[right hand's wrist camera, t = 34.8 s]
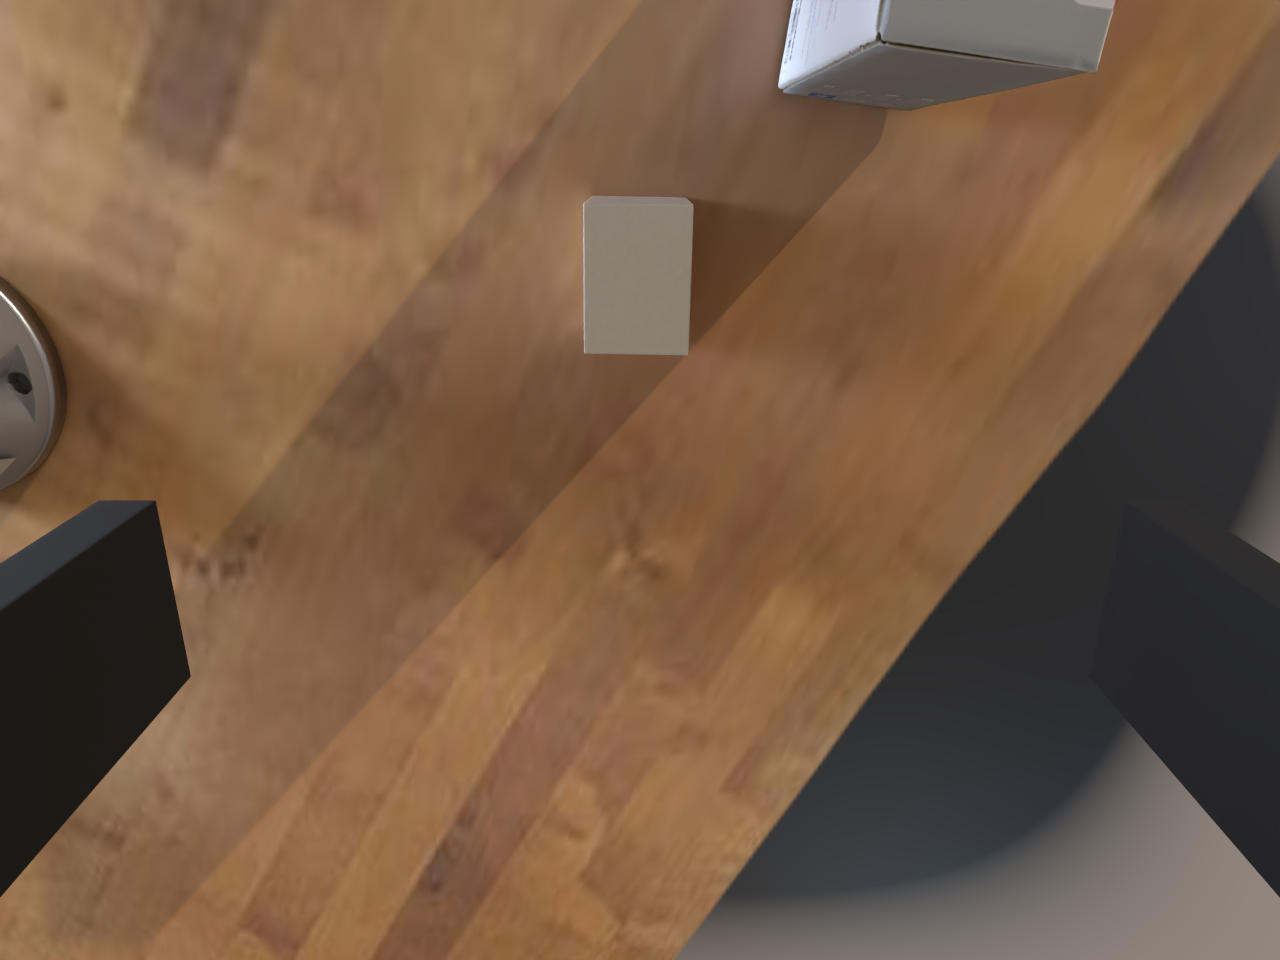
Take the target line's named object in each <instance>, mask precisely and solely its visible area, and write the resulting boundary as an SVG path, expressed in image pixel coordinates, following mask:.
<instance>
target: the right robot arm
mask: <svg viewBox="0 0 1280 960" xmlns="http://www.w3.org/2000/svg"><path fill="white" fill-rule="evenodd" d="M65 412H66V385H65V379H64V373H63V369H62V365H61V361H60V359H59V356H58V353H57V350H56V348H55V346H54V343H53V341H52V339H51V337H50V335H49V333H48V332H47V330H46V328H45V326H44V324H43V323H42V321H41V320H40V319H39V317H38V316H37V314H36V313H35V311H34V310H33V309H32V308H31V306H30V305H29V304H28V303H27V301H26V300H25V299H24V298H23V297H22V296H21V295H20V294H19V293H18V292H17V291H16V290H15V289H14V288H13V287H12V286H11V285H10V284H9V283H8V282H6V281H5V280H4V279H3V278H2V277H0V490H2V489H4V488H6V487H8V486H10V485H12V484H14V483H16V482H18V481H20V480H21V479H23V478H24V477H26V476H28V475H29V474H30V473H32V472H33V471H34V470H35V469H37V468H38V467H39V466H40V465H41V464H42V463H43V462H44V461H45V459H46V458H47V457H48V455H49V454H50V453H51V451H52V450H53V448H54V446H55V444H56V443H57V440H58V438H59V436H60V433H61V430H62V427H63V423H64V418H65ZM190 677H191V675H190V670H189V665H188V660H187V655H186V650H185V645H184V640H183V635H182V630H181V625H180V620H179V615H178V610H177V605H176V600H175V595H174V590H173V585H172V580H171V575H170V570H169V565H168V560H167V555H166V550H165V545H164V541H163V536H162V531H161V526H160V521H159V516H158V511H157V506H156V501H98V502H96V503H95V504H93V505H91V506H90V507H88V508H87V509H85V510H84V511H82V512H80V513H79V514H77V515H76V516H74V517H73V518H71V519H69V520H68V521H66V522H65V523H63V524H62V525H60V526H58V527H57V528H55V529H54V530H52V531H51V532H49V533H47V534H46V535H44V536H43V537H41V538H40V539H38V540H37V541H35V542H33V543H32V544H30V545H29V546H27V547H26V548H24V549H22V550H21V551H19V552H18V553H16V554H15V555H13V556H11V557H10V558H8V559H7V560H5V561H4V562H2V563H0V897H1V896H2V895H3V894H4V892H5V891H6V890H7V889H8V888H9V887H10V885H11V884H12V883H13V882H14V881H15V880H16V878H17V877H18V876H19V875H20V874H21V873H22V872H23V870H24V869H25V868H26V867H27V866H28V865H29V863H30V862H31V861H32V860H33V859H34V858H35V856H36V855H37V854H38V853H39V852H40V851H41V849H42V848H43V847H44V846H45V845H46V844H47V843H48V841H49V840H50V839H51V838H52V837H53V836H54V834H55V833H56V832H57V831H58V830H59V829H60V827H61V826H62V825H63V824H64V823H65V822H66V821H67V819H68V818H69V817H70V816H71V815H72V814H73V812H74V811H75V810H76V809H77V808H78V807H79V805H80V804H81V803H82V802H83V801H84V800H85V798H86V797H87V796H88V795H89V794H90V793H91V792H92V790H93V789H94V788H95V787H96V786H97V785H98V783H99V782H100V781H101V780H102V779H103V778H104V776H105V775H106V774H107V773H108V772H109V771H110V769H111V768H112V767H113V766H114V765H115V764H116V763H117V761H118V760H119V759H120V758H121V757H122V756H123V754H124V753H125V752H126V751H127V750H128V749H129V747H130V746H131V745H132V744H133V743H134V742H135V741H136V739H137V738H138V737H139V736H140V735H141V734H142V732H143V731H144V730H145V729H146V728H147V727H148V725H149V724H150V723H151V722H152V721H153V720H154V718H155V717H156V716H157V715H158V714H159V713H160V712H161V710H162V709H163V708H164V707H165V706H166V705H167V703H168V702H169V701H170V700H171V699H172V698H173V696H174V695H175V694H176V693H177V692H178V691H179V690H180V688H181V687H182V686H183V685H184V684H185V683H186V681H187V680H188V679H189V678H190ZM1089 677H1090V678H1091V679H1092V680H1093V681H1094V683H1095V684H1096V685H1097V686H1098V687H1099V688H1100V690H1101V691H1102V692H1103V693H1104V694H1105V695H1106V696H1107V698H1108V699H1109V700H1110V701H1111V702H1112V703H1113V705H1114V706H1115V707H1116V708H1117V709H1118V710H1119V712H1120V713H1121V714H1122V715H1123V716H1124V717H1125V718H1126V720H1127V721H1128V722H1129V723H1130V724H1131V725H1132V727H1133V728H1134V729H1135V730H1136V731H1137V732H1138V734H1139V735H1140V736H1141V737H1142V738H1143V739H1144V740H1145V742H1146V743H1147V744H1148V745H1149V746H1150V747H1151V749H1152V750H1153V751H1154V752H1155V753H1156V754H1157V756H1158V757H1159V758H1160V759H1161V760H1162V761H1163V763H1164V764H1165V765H1166V766H1167V767H1168V768H1169V769H1170V771H1171V772H1172V773H1173V774H1174V775H1175V776H1176V778H1177V779H1178V780H1179V781H1180V782H1181V783H1182V785H1183V786H1184V787H1185V788H1186V789H1187V790H1188V792H1189V793H1190V794H1191V795H1192V796H1193V797H1194V798H1195V800H1196V801H1197V802H1198V803H1199V804H1200V805H1201V807H1202V808H1203V809H1204V810H1205V811H1206V812H1207V813H1208V815H1209V816H1210V817H1211V818H1212V819H1213V820H1214V822H1215V823H1216V824H1217V825H1218V826H1219V827H1220V829H1221V830H1222V831H1223V832H1224V833H1225V834H1226V836H1227V837H1228V838H1229V839H1230V840H1231V841H1232V843H1233V844H1234V845H1235V846H1236V847H1237V848H1238V849H1239V851H1240V852H1241V853H1242V854H1243V855H1244V856H1245V858H1246V859H1247V860H1248V861H1249V862H1250V863H1251V865H1252V866H1253V867H1254V868H1255V869H1256V870H1257V872H1258V873H1259V874H1260V875H1261V876H1262V877H1263V878H1264V880H1265V881H1266V882H1267V883H1268V884H1269V885H1270V887H1271V888H1272V889H1273V890H1274V891H1275V892H1276V894H1277V895H1278V896H1279V897H1280V563H1278V562H1276V561H1275V560H1273V559H1272V558H1270V557H1269V556H1267V555H1265V554H1264V553H1262V552H1261V551H1259V550H1258V549H1256V548H1254V547H1253V546H1251V545H1250V544H1248V543H1247V542H1245V541H1243V540H1242V539H1240V538H1239V537H1237V536H1236V535H1234V534H1232V533H1231V532H1229V531H1228V530H1226V529H1225V528H1223V527H1222V526H1220V525H1218V524H1217V523H1215V522H1214V521H1212V520H1211V519H1209V518H1207V517H1206V516H1204V515H1203V514H1201V513H1200V512H1198V511H1196V510H1195V509H1193V508H1192V507H1190V506H1189V505H1187V504H1185V503H1184V502H1182V501H1124V506H1123V511H1122V516H1121V521H1120V526H1119V531H1118V536H1117V541H1116V546H1115V550H1114V556H1113V560H1112V565H1111V570H1110V575H1109V581H1108V585H1107V590H1106V595H1105V600H1104V606H1103V610H1102V616H1101V621H1100V626H1099V631H1098V635H1097V640H1096V645H1095V650H1094V656H1093V660H1092V665H1091V670H1090V675H1089Z"/></svg>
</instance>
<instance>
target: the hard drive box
mask: <svg viewBox="0 0 1280 960" xmlns="http://www.w3.org/2000/svg"><path fill="white" fill-rule="evenodd" d="M1116 2H1117V0H793V5H792V10H791V16H790V21H789V27H788V33H787V39H786V45H785V50H784V55H783V60H782V66H781V71H780V77H779V83H778V87H779V88H780V89H783V92H784V93H786V94H792V95H798V96H804V97H811V98H818V99H824V100H831V101H839V102H847V103H854V104H861V105H867V106H875V107H882V108H890V109H897V110H910V111H911V110H915V109H919V108H923V107H927V106H931V105H937V104H941V103H946V102H951V101H956V100H961V99H966V98H970V97H975V96H980V95H986V94H991V93H996V92H1000V91H1005V90H1009V89H1014V88H1019V87H1023V86H1028V85H1032V84H1037V83H1041V82H1046V81H1050V80H1055V79H1059V78H1064V77H1068V76H1073V75H1077V74H1081V73H1086V72H1089V73H1095V72H1097V70H1098V65H1099V61H1100V57H1101V54H1102V50H1103V46H1104V43H1105V39H1106V35H1107V31H1108V28H1109V24H1110V21H1111V18H1112V14H1113V11H1114V8H1115V5H1116Z"/></svg>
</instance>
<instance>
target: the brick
mask: <svg viewBox="0 0 1280 960" xmlns="http://www.w3.org/2000/svg"><path fill="white" fill-rule="evenodd" d="M693 215H694V205H693V204H692V203H691V202H690V201H689V200H688V199H687V198H685V197H641V196H591V197H590V198H589V199H588V200H587V201H585V202H584V204H583V241H584V353H585V354H633V355H688V354H689V327H690V299H691V271H692V243H693Z"/></svg>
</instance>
